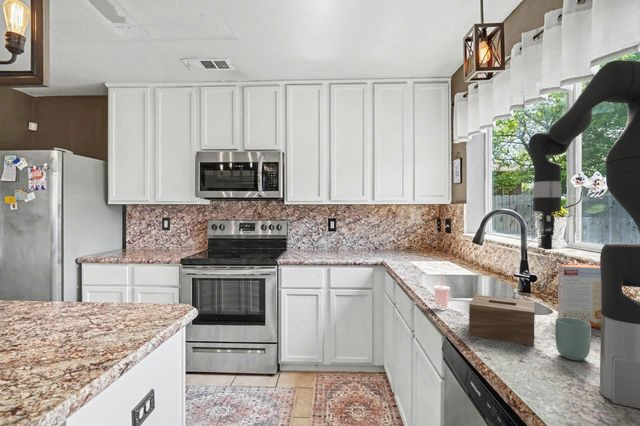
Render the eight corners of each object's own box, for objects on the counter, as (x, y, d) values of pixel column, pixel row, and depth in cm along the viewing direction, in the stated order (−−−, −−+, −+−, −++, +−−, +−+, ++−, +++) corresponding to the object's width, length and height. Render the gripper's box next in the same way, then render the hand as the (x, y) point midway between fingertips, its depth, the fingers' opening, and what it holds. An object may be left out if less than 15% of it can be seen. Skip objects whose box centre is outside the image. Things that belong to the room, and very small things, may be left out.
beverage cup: (441, 312, 144) (442, 276, 144) (430, 308, 149) (430, 273, 149) (452, 310, 147) (453, 275, 147) (441, 306, 152) (441, 272, 152)
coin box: (534, 346, 109) (534, 312, 109) (468, 335, 118) (469, 303, 118) (533, 331, 122) (534, 301, 122) (475, 322, 131) (475, 294, 131)
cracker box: (601, 324, 131) (602, 265, 130) (610, 329, 125) (611, 267, 125) (556, 320, 134) (557, 263, 134) (563, 325, 128) (564, 265, 128)
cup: (574, 365, 96) (575, 326, 96) (548, 353, 103) (549, 318, 103) (597, 362, 98) (598, 324, 98) (570, 351, 105) (570, 316, 105)
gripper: (564, 195, 107) (563, 251, 107) (558, 197, 120) (557, 247, 120) (534, 195, 111) (533, 249, 111) (532, 197, 123) (531, 245, 123)
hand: (546, 248), depth 115 cm, fingers open, 8 cm apart
